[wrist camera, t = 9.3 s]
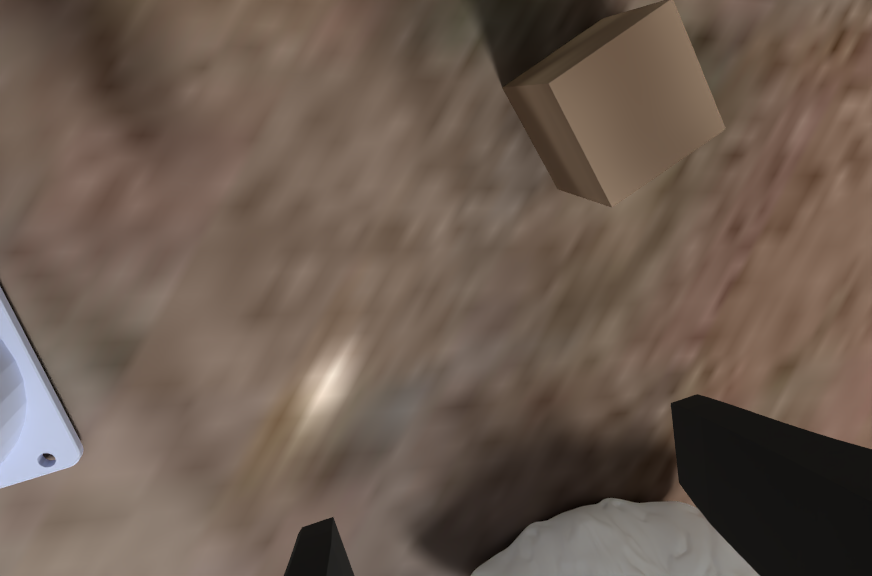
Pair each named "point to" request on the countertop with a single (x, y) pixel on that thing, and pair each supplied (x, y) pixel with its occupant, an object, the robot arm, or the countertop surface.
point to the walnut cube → (617, 104)
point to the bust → (620, 544)
